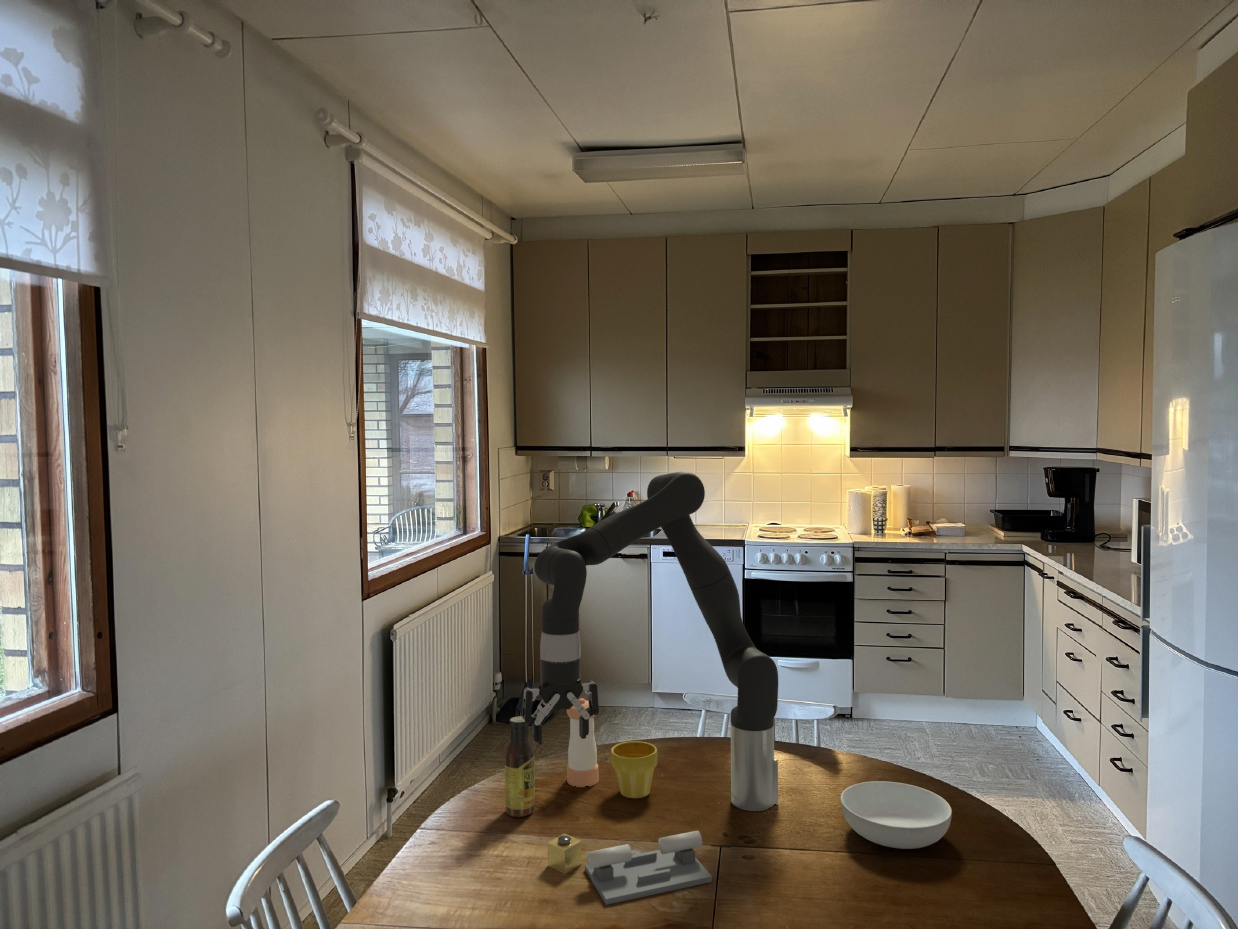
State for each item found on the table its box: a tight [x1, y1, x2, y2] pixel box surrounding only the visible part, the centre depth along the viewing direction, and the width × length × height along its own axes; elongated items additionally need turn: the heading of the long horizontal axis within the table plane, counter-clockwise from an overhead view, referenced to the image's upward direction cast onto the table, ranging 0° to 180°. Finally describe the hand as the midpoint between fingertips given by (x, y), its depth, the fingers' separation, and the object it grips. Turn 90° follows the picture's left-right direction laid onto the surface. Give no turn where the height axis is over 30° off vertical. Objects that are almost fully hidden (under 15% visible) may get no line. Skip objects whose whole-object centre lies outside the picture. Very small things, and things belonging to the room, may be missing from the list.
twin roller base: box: [584, 830, 713, 906], centre depth 148 cm, size 22×12×6 cm, turn 110°
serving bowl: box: [840, 780, 953, 850], centre depth 162 cm, size 21×21×7 cm
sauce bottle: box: [504, 715, 536, 818], centre depth 174 cm, size 7×6×20 cm
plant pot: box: [610, 740, 658, 799], centre depth 183 cm, size 10×10×10 cm
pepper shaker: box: [566, 697, 600, 788], centre depth 189 cm, size 7×7×19 cm
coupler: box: [547, 833, 583, 875], centre depth 152 cm, size 4×4×5 cm
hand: (560, 740), depth 154 cm, fingers open, 8 cm apart
